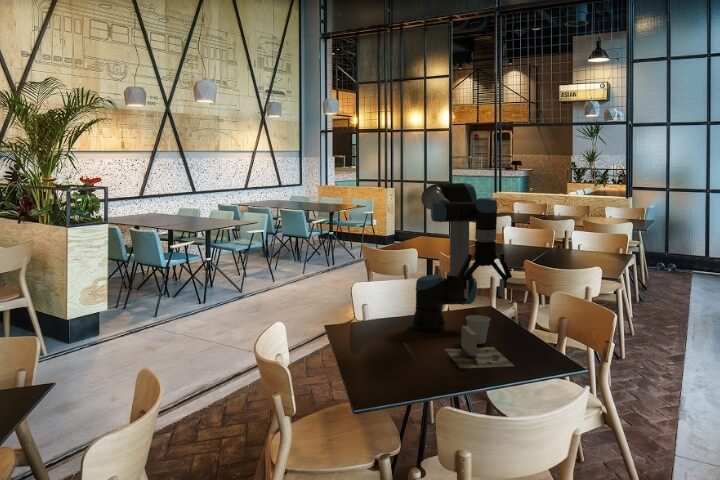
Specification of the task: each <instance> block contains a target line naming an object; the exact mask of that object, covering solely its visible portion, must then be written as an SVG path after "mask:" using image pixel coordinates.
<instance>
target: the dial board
mask: <svg viewBox="0 0 720 480" xmlns="http://www.w3.org/2000/svg"><path fill="white" fill-rule="evenodd" d="M461 349H464V348H463V347H462V348H445V349H444V351H445V352H446V353H447V354H448V355H449V357H450V358H451V359H452V360H453V362H454V363H455V365H457V367H458V368H459V369H476V368H477V369H480V368H502V367H504V368H505V367H515V364H513V363H512V362H511V361H510V360H509V359H507V358H506V357H505V356H504V355H503V354H502V353H501V352H499V350H497V349H496V348H495V347H494V346H490V347H477V357H475V359H476V360H477V363H475V362H474V361H473V360H472V359H471V358H463V357H461V356H460V353H461Z"/></svg>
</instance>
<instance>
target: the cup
mask: <svg viewBox="0 0 720 480" xmlns="http://www.w3.org/2000/svg"><path fill="white" fill-rule="evenodd" d="M465 319H466V326H468V327H469V328H470V329H471V330H473V331H474V332H475V333H476V334H477V345H483V344H485V343H486V342H487V336H488V331H489V327H490V321H491V318H490V317H489V316H486V315H479V314H477V315H475V314H474V315H466V317H465Z"/></svg>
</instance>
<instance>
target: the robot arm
mask: <svg viewBox="0 0 720 480" xmlns="http://www.w3.org/2000/svg"><path fill="white" fill-rule="evenodd" d="M421 203H422V205H423V206H424V207H425V208H426V209H428V210H429V211H430V217H431V218H430V219H431V220H432V222H435V223H449V271H448V272H447V273H446V278H444V277H443V275H441V274H429V275H424V276H423V275H422V276H421V277H419V278H417V279H416V284H415V312H414V315H413V317H412V321H411V329H413V330H415V331H420V332H424V333H425V332H427V333H432V332H440V331H444V330H445V329H446V321H445V320H446V319H445V317H444V314H443V305H445V306H446V305H447V306H449V305H462V306H464V305H470V304H472V303H473V302H475V299H476V297H477V293H478V292H477V291H478V285H477V284H478V281H477V279H476V278H474V275H473V273H474V272H475V271H476V270H477V269H478V268H479V267H490V266H491V267H492V268H493V269H494V270H495V271H496V272H497V274H498V275H499V276H500V278H499V287H498V291H499V292H498V296H499V297H500V298H504V297H505V289H506V288H507V281H508V279H511V278H513V277H512V274H511V271H510V268H509V266H508V264H507V262H506V260H505V254H504V253H502V252H499V253H496V252H497V250H496V249H497V242H496V240H497V222H498V221H497V219H498V201H497V199H496V198H491V197H489V198H487V197H483V198H478V196H477V191H476V188H475V187H474V185H473V184H471V183H466V182H451V183H448V182H447V183H443V182H440V183H439V182H438V183H434V184H431V185H429V186H427V187H426V188H425V189H424V190H423V191H422V194H421ZM470 223H475V230H474V231H475V234H474V240H476V241H475V242H474V254H470ZM473 259H474V261H473ZM496 259H498V260H499V263H500V265H501V268H502V269H503V270H501V268H500V267H499V266H498V263H496V262H495V260H496ZM471 261H473V262H472V265H471V266H470V263H471Z"/></svg>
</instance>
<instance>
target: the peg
mask: <svg viewBox="0 0 720 480" xmlns="http://www.w3.org/2000/svg"><path fill="white" fill-rule="evenodd" d="M460 337H461V339H460V340H461V341H460V346H461V347H462V348H464V349H461V353H460V356H461V357H463V358H471V359H472V360H473V361H474V362H475V363H477V360H476V359H475V357H477V348H478V347H477V346H478V344H477V334H476V333H475V332H474V331H473V330H471V329H470V328H469V327H468V326H467V325H461V336H460Z"/></svg>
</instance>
